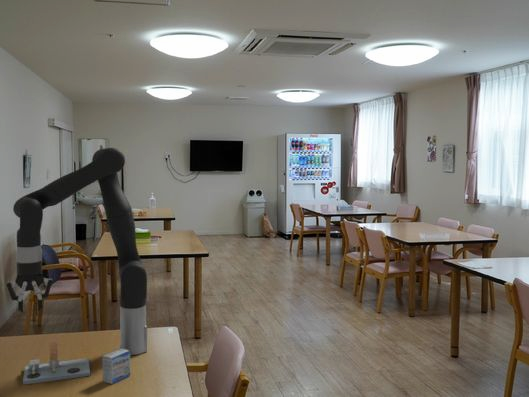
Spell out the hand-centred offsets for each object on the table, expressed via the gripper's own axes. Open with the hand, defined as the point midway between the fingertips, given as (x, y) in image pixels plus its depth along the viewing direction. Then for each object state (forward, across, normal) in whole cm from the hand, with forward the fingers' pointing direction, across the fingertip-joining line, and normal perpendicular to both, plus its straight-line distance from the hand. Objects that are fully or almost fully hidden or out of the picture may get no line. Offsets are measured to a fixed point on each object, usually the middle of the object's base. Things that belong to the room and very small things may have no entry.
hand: (30, 310), depth 167 cm
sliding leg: (+20, -7, +1) cm, 21 cm away
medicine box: (+22, -26, +12) cm, 36 cm away
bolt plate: (+21, -8, +2) cm, 23 cm away
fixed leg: (+20, -1, +1) cm, 20 cm away
